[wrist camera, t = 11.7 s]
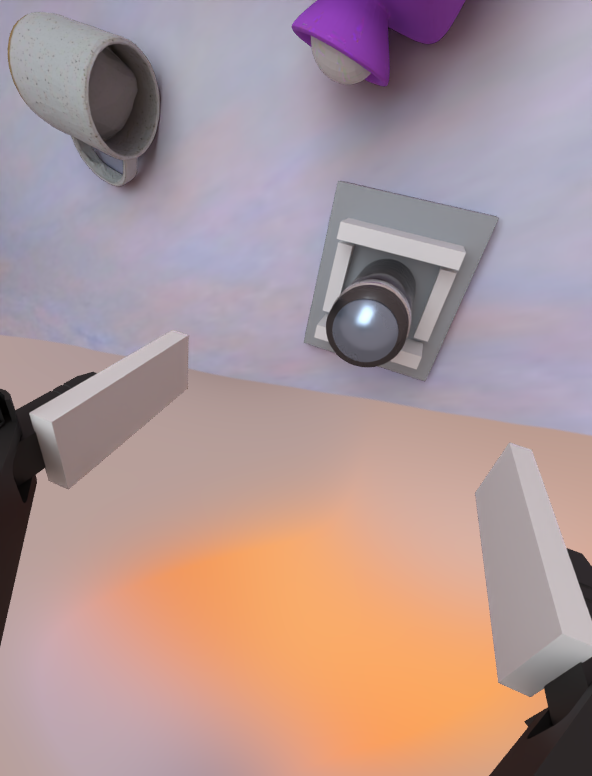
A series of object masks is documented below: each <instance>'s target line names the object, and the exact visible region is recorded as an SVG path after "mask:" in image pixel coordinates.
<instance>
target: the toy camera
mask: <svg viewBox="0 0 592 776" xmlns="http://www.w3.org/2000/svg"><path fill="white" fill-rule="evenodd" d="M464 2H465V0H317V1H316V2H315V3H313V4H312V5H311V6H310V7H309V8H308V9H306V10H305V11H304V12H303V13H302V14H301V15H300V16H299V17H298V18H297V19H296V20H295V21H294V23H293V24H292V29H293V31H294V32H295V34H296V35H297V36H298V37H299V38H301V39H302V40H303V41H304V42H306V43H307V44H308V45H309V46H311V47H312V53H313V56H314V59H315V61H316V63H317V65H318V66H319V68H320V70H321V71H322V72H323V73H324V74H325V75H326V76H327V77H328V78H330V79H331V80H333V81H335V82H338V83H340V84H345V85H350V84H356V83H359V82H361V81H362V80H364V79H365V80H367V81H369V82H371V83H374V84H376V85H379V86H387V85H388V82H389V73H390V62H389V40H388V27H389V28H391V29H393V30H395V31H397V32H399V33H401V34H402V35H404V36H407V37H409V38H411V39H413V40H415V41H417V42H420V43H425V44H432V43H436V42H437V41H439V40H440V39H441V38H442V37H443V36H444V35H445V34H446V33H447V31H448V30H449V28H450V27H451V25H452V24H453V22H454V20H455V19H456V17H457V15H458V13H459V12H460V10H461V8H462V6H463V4H464Z"/></svg>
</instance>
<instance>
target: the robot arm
mask: <svg viewBox="0 0 592 776" xmlns="http://www.w3.org/2000/svg"><path fill="white" fill-rule="evenodd" d="M186 389H188V335H186V334H184V333H181V332H178V331H175V330H172V331H170V332H168V333H167V334H165V335H163V336H161V337H160V338H158V339H156V340H154V341H153V342H151V343H149V344H148V345H146V346H144V347H142V348H141V349H139V350H137V351H135V352H134V353H132V354H130V355H128V356H127V357H125V358H123V359H122V360H120V361H118V362H116V363H115V364H113V365H111V366H109V367H108V368H106V369H104V370H103V371H101V372H99V373H94V372H91V373H87V374H84V375H81V376H77V377H75V378H73V379H71V380H70V381H68V382H66V383H64V385H63V386H62V385H61V386H59V387H57V388H55V389H54V390H53V391H50V392H48V393H46V394H44V395H43V396H41V397H39V398H37V399H35V400H33V401H32V402H30V403H28V404H26V405H24V406H23V407H21V408H19V409H17V410H15V409H14V406H13V402H12V399H11V396H10V394H9V393H8V392H7V391H6V390H3V389H0V645H1V640H2V636H3V631H4V627H5V622H6V618H7V613H8V609H9V605H10V600H11V596H12V591H13V587H14V582H15V577H16V573H17V569H18V564H19V560H20V556H21V551H22V547H23V542H24V537H25V533H26V529H27V524H28V520H29V515H30V511H31V507H32V502H33V497H34V493H35V489H36V484H37V479H36V474H37V473H38V472H40V471H41V470H42V469H44V468H45V469H46V473H47V476H48V480H49V481H51V482H53V483H55V484H58V485H60V486H62V487H64V488H66V489H70V488H71V487H72V486H73V485H74V484H76V483H77V482H78V481H79V480H80V479H81V478H82V477H84V476H85V475H86V474H87V473H89V472H90V471H91V470H92V469H93V468H94V467H96V466H97V465H98V464H99V463H100V462H101V461H103V460H104V459H105V458H106V457H107V456H109V455H110V454H111V453H112V452H113V451H114V450H116V449H117V448H118V447H119V446H120V445H122V444H123V443H124V442H125V441H126V440H127V439H129V438H130V437H131V436H132V435H133V434H135V433H136V432H137V431H138V430H139V429H140V428H142V427H143V426H144V425H145V424H146V423H147V422H149V421H150V420H151V419H152V418H153V417H155V416H156V415H157V414H158V413H159V412H160V411H162V410H163V409H164V408H165V407H166V406H168V405H169V404H170V403H171V402H172V401H173V400H174V399H176V398H177V397H178V396H179V395H180V394H182V393H183V392H184V391H185V390H186ZM475 496H476V503H477V513H478V521H479V529H480V537H481V545H482V553H483V561H484V569H485V578H486V586H487V593H488V601H489V610H490V618H491V626H492V634H493V642H494V651H495V659H496V667H497V675H498V683H500V684H502V685H504V686H507V687H509V688H511V689H514V690H516V691H518V692H520V693H522V694H524V695H527V696H529V697H531V696H533V695H534V694H536V693H538V692H539V691H541V690H542V689H545V694H546V699H547V703H548V708H546V709H544V710H543V711H541V712H539V713H538V714H536V715H534V716H533V717H531V718H529V719H528V720H526V721H525V723H526V724H527V726H528V728H527V730H526V731H525V732H524V733H523V734H522V736H521V737H520V738H519V739H518V741H517V742H516V743H515V745H514V746H513V747H512V748H511V749H510V751H509V752H508V753H507V754H506V756H505V757H504V758H503V759H502V760H501V762H500V763H499V764H498V765H497V767H496V768H495V769H494V771H493V772H492V773H491V774H490V775H489V776H592V566H591V565H590V563H589V562H588V561H587V559H586V558H585V557H584V556H583V554H581V553H578V552H576V551H573V550H570V549H568V548H566V546H565V543H564V540H563V537H562V534H561V532H560V529H559V526H558V523H557V520H556V517H555V514H554V512H553V509H552V506H551V503H550V500H549V497H548V495H547V492H546V489H545V486H544V483H543V480H542V477H541V475H540V472H539V469H538V466H537V463H536V460H535V458H534V455H533V452H532V450H531V449H528V448H525V447H522V446H519V445H516V444H513V443H509V444H508V445H507V447H506V448H505V450H504V451H503V453H502V454H501V456H500V457H499V459H498V460H497V462H496V463H495V464H494V466H493V467H492V469H491V470H490V472H489V474H488V475H487V476H486V478H485V479H484V481H483V482H482V484H481V485H480V487H479V488H478V489H477V491H476V492H475Z"/></svg>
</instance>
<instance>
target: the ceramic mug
mask: <svg viewBox="0 0 592 776" xmlns="http://www.w3.org/2000/svg"><path fill="white" fill-rule="evenodd" d="M8 62H9V69H10V72H11V75H12V79H13V82H14V84H15V86H16V88H17V90H18V92H19V94H20V95H21V97H22V99H23V100H24V101H25V103H26V104H27V105H28V106H29V107H30V109H31V110H32V111H33V112H34V113H36V114H37V115H38V116H39V117H40V118H41V119H43V120H44V121H46V122H47V123H48V124H50V125H51V126H53V127H54V128H56V129H58V130H60V131H62V132H64V133H66V134H69V135H71V136H72V139H73V141H74V144H75V146H76V148H77V150H78V152H79V154H80V156H81V158H82V159H83V161H84V162H85V163H86V164H87V166H88V167H89V168H90V169H91V170H92V171H93V172H94V173H95V174H96V175H97V176H98V177H99V178H101V179H102V180H104V181H105V182H107V183H109V184H111V185H114V186H122V185H124V184H126V183H127V182H129V181H131V180H132V179H133V178H134V177H135V175H136V173H137V158H138V157H139V156H141V155H142V154H143V153H145V151H146V150H147V149H148V148H149V146H150V145H151V143H152V141H153V139H154V137H155V134H156V130H157V127H158V121H159V114H160V97H159V89H158V84H157V80H156V77H155V73H154V71H153V69H152V66H151V64H150V62H149V61H148V59H147V57H146V56H145V55H144V53H143V52H142V51H141V50H140V49H139V48H138V47H137V46H136V45H135V44H134V43H133V42H131V41H130V40H128V39H126V38H123V37H121V36H118V35H115V34H112V33H109V32H105V31H103V30H100V29H98V28H95V27H92V26H89V25H86V24H83V23H80V22H77V21H74V20H71V19H69V18H66V17H64V16H61V15H57V14H54V13H44V12H34V13H31V14H28V15H25V16H24V17H22V18H21V19H20V20H19V21H17V23H16V24H15V25H14V26H13V29H12V31H11V33H10V37H9V43H8ZM93 147H94V148H96V149H98V150H100V151H102V152H104V153H105V154H107V155H109V156H112V157H114V158H117V159H120V160H123V175H122V174H120V173H118V172H117V171H115V170H113V169H112V168H110V167H108V166H107V165H106V164H105V163H103V162H102V161H101V160H100V159H99V157H98V155H97V154H96V153H95V151H94V149H93Z"/></svg>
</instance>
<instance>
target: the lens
mask: <svg viewBox="0 0 592 776" xmlns="http://www.w3.org/2000/svg"><path fill="white" fill-rule="evenodd" d="M415 291H416V285H415V279H414V276H413V274H412V273H411V271H410V270H409V268H408V267H407V266H406V265H404V264H403V263H401V262H399V261H397V260H394V259H379V260H376V261H374V262H372V263H370V264H368V265H367V266H366V267H365V268H364V269H363V270H362V271H361V272H360V273H359V275H358V276H357V277H356V278H355V280H354V281H353V282H352V283H351V284H350V286H349V287H347V288H346V289H345V290H344V291H343V292H342V293H341V294H340V296H339V297H338V298H337V299H336V301H335V302H334V304H333V306H332V308H331V310H330V312H329V314H328V317H327V321H326V334H327V339H328V341H329V344H330V346H331V347H332V349H333V350H334V352H335V353H336V354H337V355H338V356H339V357H340V358H342V359H343V360H344V361H346V362H348V363H350V364H353V365H356V366H360V367H375V366H380V365H383V364H385V363H387V362H389V361H390V360H392V359H393V358H394V357H396V356H397V354H398V353H399V352H400V351H401V349H402V348H403V346H404V344H405V341H406V339H407V337H408V334H409V331H410V325H411V312H412V307H413V301H414V296H415Z"/></svg>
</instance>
